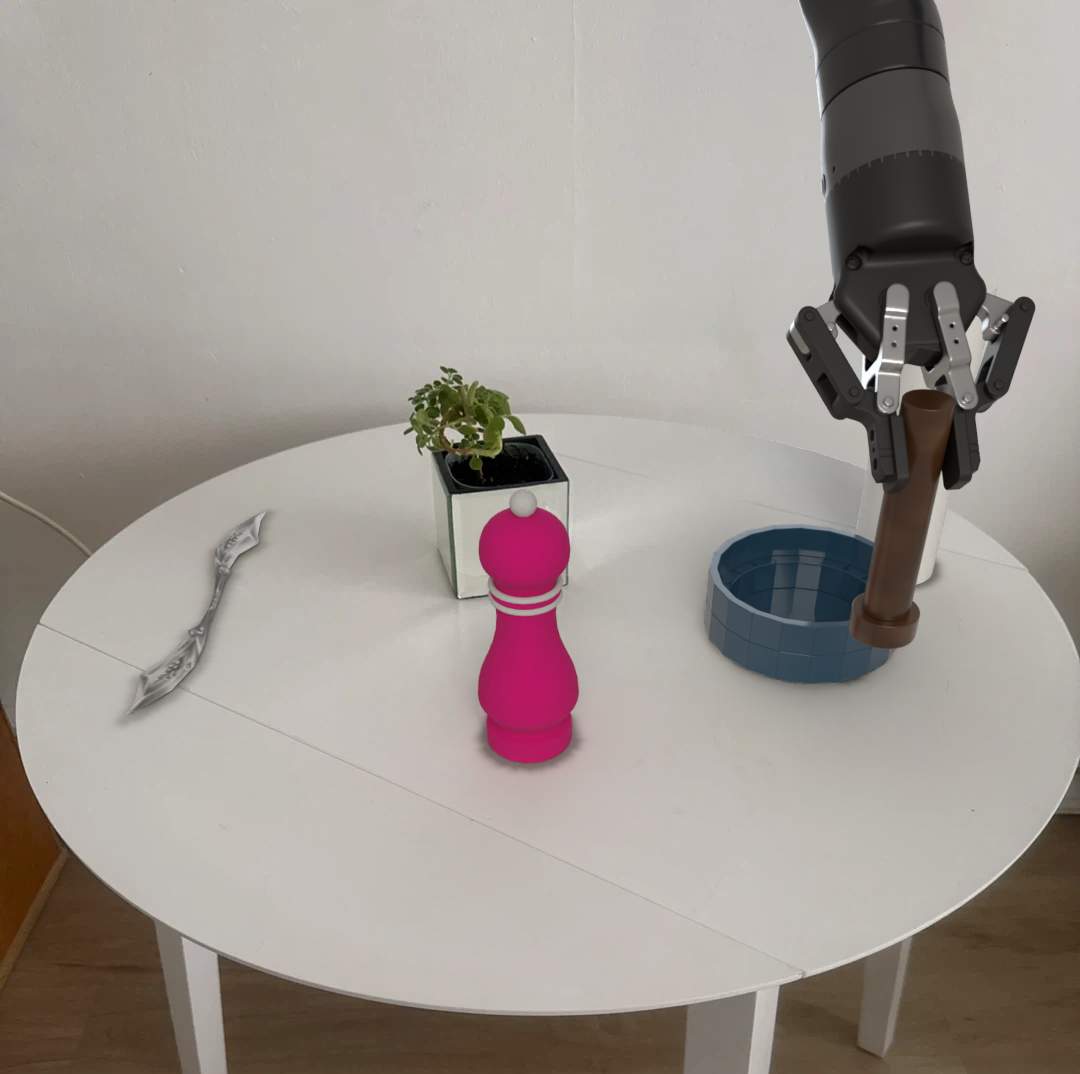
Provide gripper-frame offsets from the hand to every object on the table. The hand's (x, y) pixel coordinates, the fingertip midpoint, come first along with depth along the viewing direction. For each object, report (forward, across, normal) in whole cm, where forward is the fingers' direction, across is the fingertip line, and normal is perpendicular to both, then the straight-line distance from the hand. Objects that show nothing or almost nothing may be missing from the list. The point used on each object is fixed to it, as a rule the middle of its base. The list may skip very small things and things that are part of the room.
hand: (928, 485), depth 62 cm
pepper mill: (+10, -21, +26) cm, 35 cm away
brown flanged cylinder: (+6, 0, +9) cm, 11 cm away
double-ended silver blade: (-5, -47, +40) cm, 62 cm away
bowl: (+2, +2, +33) cm, 33 cm away
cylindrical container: (-5, +13, +40) cm, 42 cm away
